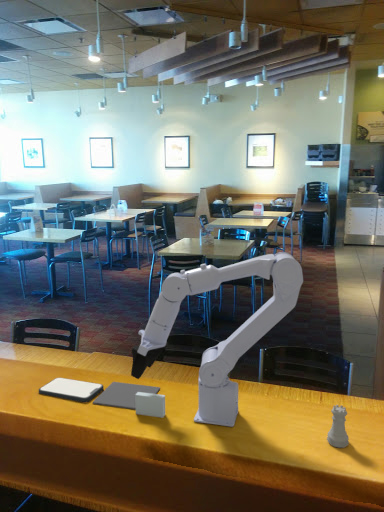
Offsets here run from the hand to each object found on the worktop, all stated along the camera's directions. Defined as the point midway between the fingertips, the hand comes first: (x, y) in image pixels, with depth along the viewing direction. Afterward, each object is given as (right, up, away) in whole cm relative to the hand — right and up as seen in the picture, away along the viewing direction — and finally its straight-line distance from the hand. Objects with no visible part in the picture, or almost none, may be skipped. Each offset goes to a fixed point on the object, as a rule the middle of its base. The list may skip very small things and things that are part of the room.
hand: (141, 370), depth 100 cm
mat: (-5, -9, +10) cm, 14 cm away
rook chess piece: (+43, -12, -11) cm, 47 cm away
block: (+2, -11, +1) cm, 11 cm away
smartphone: (-21, -10, +13) cm, 26 cm away
